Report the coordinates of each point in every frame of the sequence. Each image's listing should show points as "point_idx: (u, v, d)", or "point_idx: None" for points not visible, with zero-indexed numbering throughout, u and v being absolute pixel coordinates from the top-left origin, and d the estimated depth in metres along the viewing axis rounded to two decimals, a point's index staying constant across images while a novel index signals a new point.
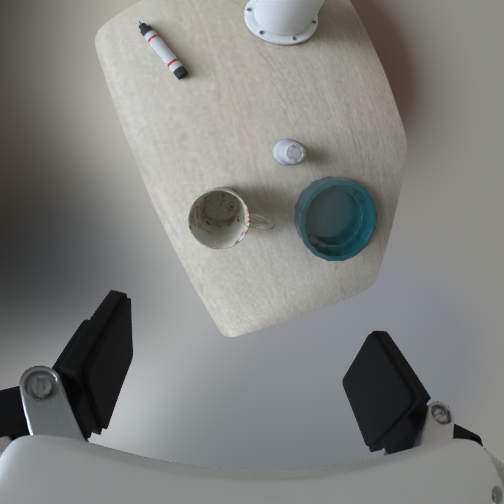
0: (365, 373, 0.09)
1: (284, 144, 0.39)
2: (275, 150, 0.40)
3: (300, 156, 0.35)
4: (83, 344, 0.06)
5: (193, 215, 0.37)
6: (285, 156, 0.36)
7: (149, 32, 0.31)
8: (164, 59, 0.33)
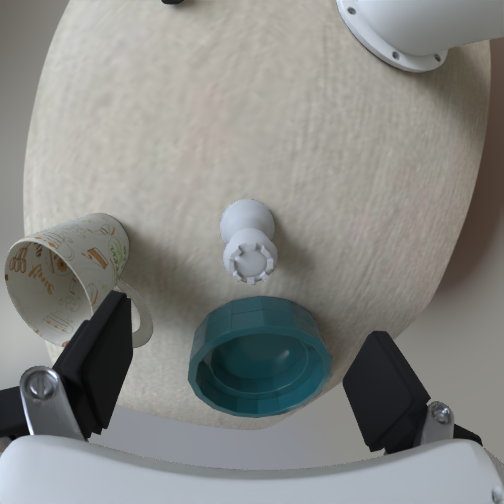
0: (365, 373, 0.09)
1: (249, 217, 0.19)
2: (228, 215, 0.20)
3: (257, 274, 0.16)
4: (83, 344, 0.06)
5: (24, 255, 0.14)
6: (227, 256, 0.16)
7: None
8: None
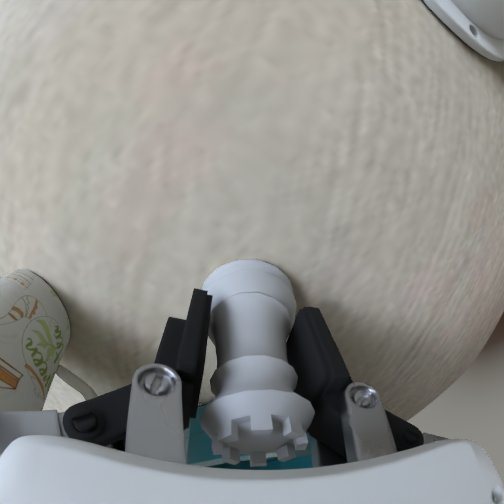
0: (295, 349, 0.10)
1: (252, 308, 0.10)
2: (212, 294, 0.11)
3: (271, 449, 0.06)
4: (191, 338, 0.07)
5: None
6: (207, 426, 0.06)
7: None
8: None
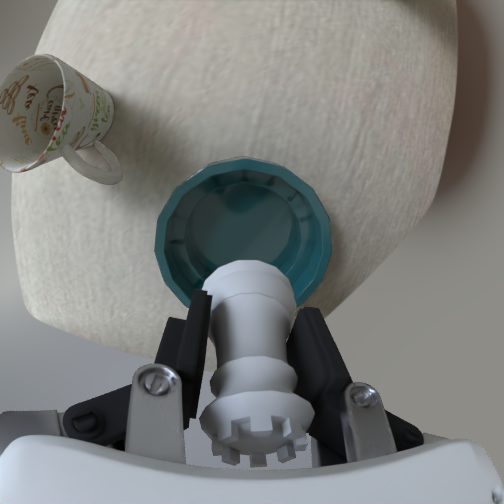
0: (295, 349, 0.10)
1: (252, 309, 0.10)
2: None
3: (270, 450, 0.06)
4: (191, 338, 0.07)
5: (15, 95, 0.11)
6: (207, 427, 0.06)
7: None
8: None
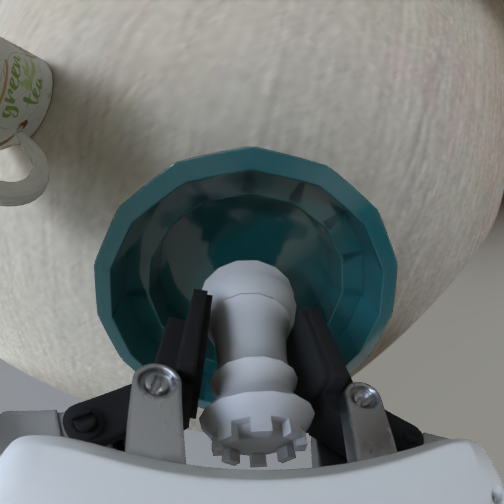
0: (295, 349, 0.10)
1: (252, 309, 0.10)
2: None
3: (270, 450, 0.06)
4: (191, 338, 0.07)
5: None
6: (207, 427, 0.06)
7: None
8: None
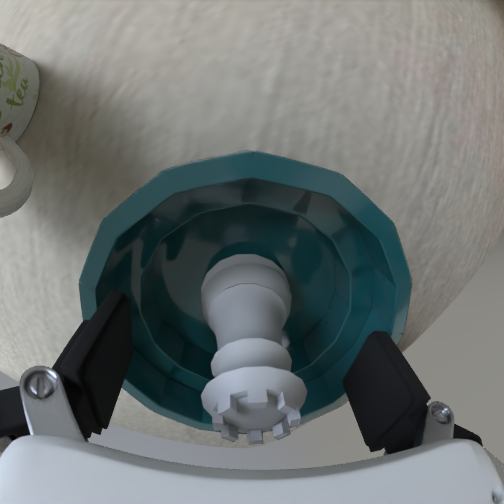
0: (365, 373, 0.09)
1: (250, 297, 0.11)
2: (212, 286, 0.12)
3: (267, 427, 0.07)
4: (83, 344, 0.06)
5: None
6: (208, 403, 0.07)
7: None
8: None
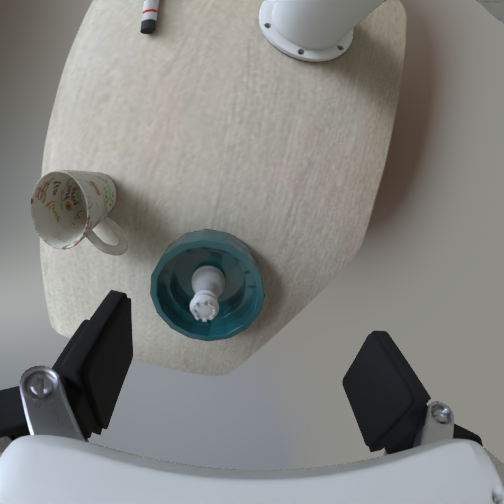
0: (365, 373, 0.09)
1: (206, 280, 0.32)
2: (195, 277, 0.34)
3: (207, 316, 0.29)
4: (83, 344, 0.06)
5: (45, 189, 0.23)
6: (191, 306, 0.29)
7: None
8: (144, 5, 0.21)
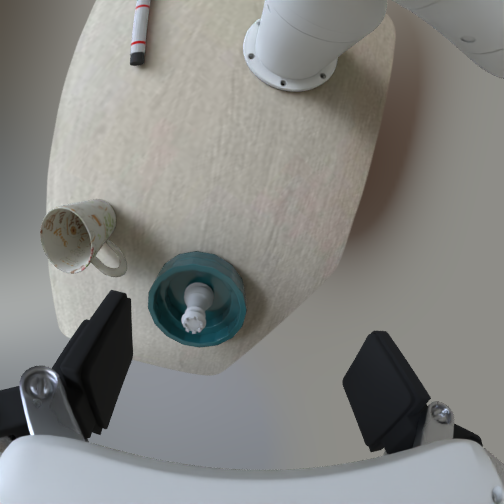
0: (365, 373, 0.09)
1: (196, 296, 0.37)
2: (187, 292, 0.38)
3: (196, 329, 0.33)
4: (83, 344, 0.06)
5: (52, 220, 0.27)
6: (182, 321, 0.33)
7: None
8: (132, 36, 0.24)
